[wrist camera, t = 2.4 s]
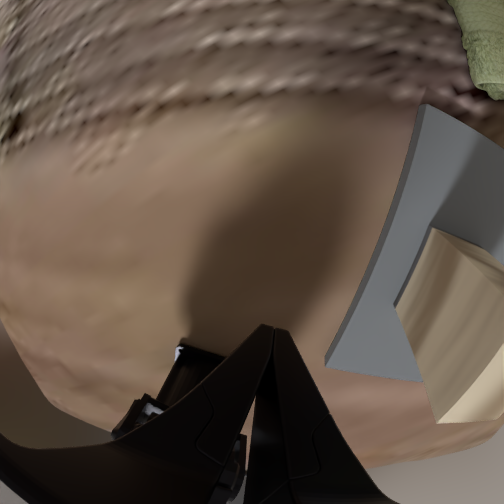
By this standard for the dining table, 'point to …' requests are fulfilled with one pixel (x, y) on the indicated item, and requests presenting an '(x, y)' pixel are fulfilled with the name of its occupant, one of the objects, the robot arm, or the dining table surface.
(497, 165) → the rubber pad
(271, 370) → the robot arm
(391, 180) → the dining table surface
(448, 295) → the maple block
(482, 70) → the washcloth
